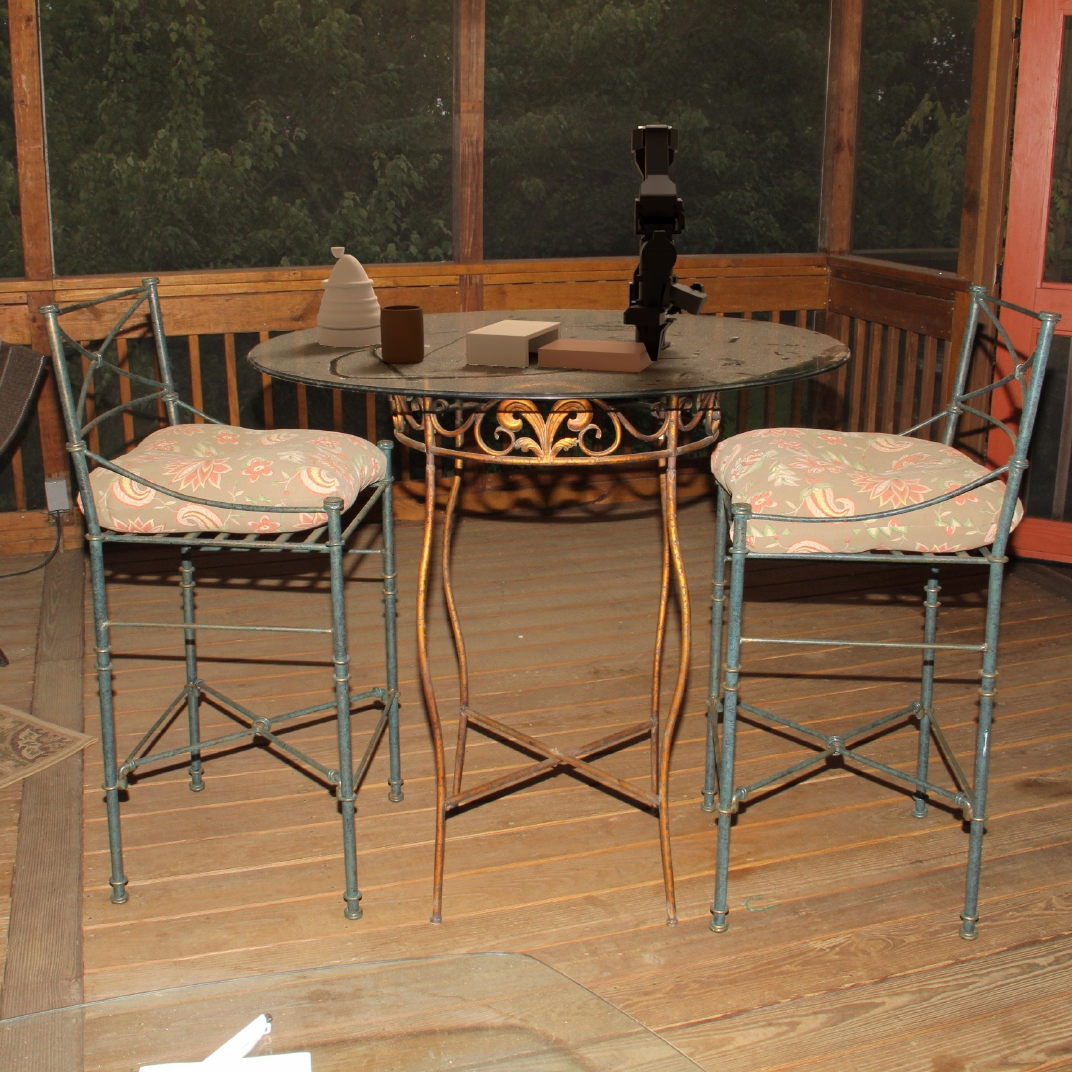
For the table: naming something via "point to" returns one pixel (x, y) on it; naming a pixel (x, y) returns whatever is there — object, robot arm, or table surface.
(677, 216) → the robot arm
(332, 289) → the honey pot
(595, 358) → the block
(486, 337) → the bridge
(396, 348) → the mug
